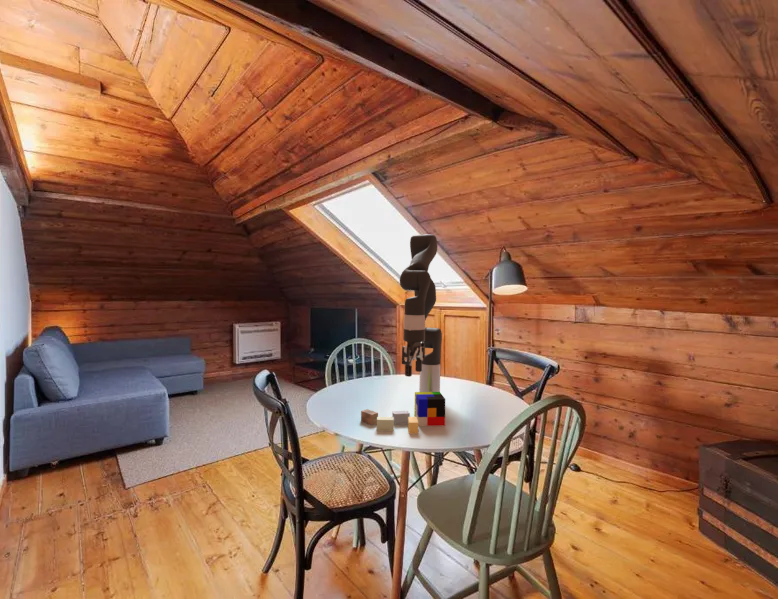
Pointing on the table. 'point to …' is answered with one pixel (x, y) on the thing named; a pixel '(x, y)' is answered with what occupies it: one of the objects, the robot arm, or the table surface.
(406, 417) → the slate brick
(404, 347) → the robot arm
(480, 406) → the table surface
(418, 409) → the puzzle toy
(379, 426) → the cream brick
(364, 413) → the walnut brick
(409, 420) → the mustard brick
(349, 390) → the table surface
